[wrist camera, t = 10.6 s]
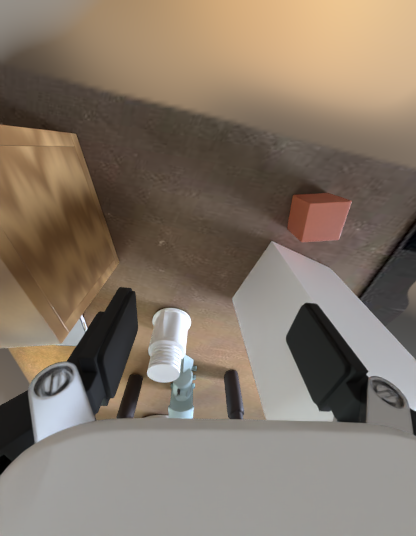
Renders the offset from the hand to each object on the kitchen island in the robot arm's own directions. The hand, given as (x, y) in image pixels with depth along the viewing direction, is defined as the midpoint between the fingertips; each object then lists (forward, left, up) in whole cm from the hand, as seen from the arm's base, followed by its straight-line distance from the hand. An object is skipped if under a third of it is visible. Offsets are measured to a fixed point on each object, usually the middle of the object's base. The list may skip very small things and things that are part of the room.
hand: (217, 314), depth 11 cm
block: (0, +13, -18) cm, 22 cm away
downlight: (+19, -8, -18) cm, 27 cm away
